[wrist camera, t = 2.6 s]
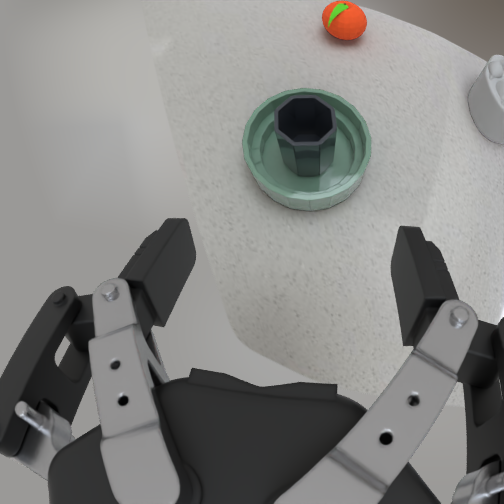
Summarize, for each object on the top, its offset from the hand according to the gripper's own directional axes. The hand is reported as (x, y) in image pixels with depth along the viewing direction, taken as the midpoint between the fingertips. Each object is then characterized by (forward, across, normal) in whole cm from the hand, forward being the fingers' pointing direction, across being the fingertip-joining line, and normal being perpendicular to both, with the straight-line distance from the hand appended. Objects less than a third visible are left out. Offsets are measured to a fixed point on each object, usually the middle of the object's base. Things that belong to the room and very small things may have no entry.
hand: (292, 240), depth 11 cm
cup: (+26, 0, -6) cm, 27 cm away
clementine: (+43, +6, +9) cm, 44 cm away
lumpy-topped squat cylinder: (+35, +30, +1) cm, 46 cm away
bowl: (+27, 0, -7) cm, 27 cm away
